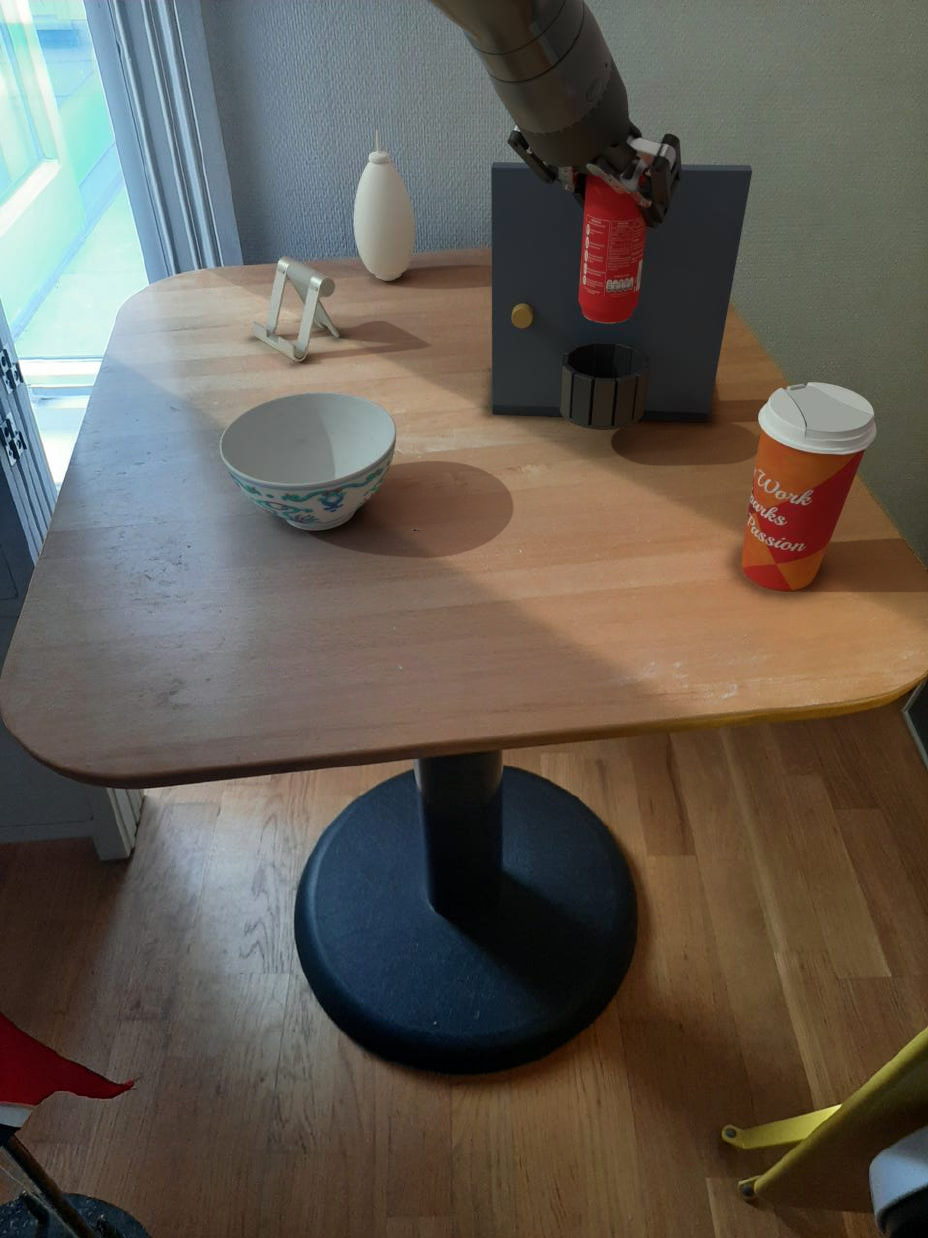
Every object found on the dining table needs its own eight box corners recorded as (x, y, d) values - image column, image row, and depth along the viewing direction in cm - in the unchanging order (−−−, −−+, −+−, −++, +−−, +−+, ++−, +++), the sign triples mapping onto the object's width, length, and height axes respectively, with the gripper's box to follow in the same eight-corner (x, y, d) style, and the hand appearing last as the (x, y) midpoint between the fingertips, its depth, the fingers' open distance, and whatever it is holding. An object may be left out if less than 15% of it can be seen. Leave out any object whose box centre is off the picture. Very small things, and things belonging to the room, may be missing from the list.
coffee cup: (709, 548, 78) (740, 388, 68) (794, 529, 80) (837, 370, 70) (761, 611, 72) (804, 446, 62) (852, 589, 74) (908, 424, 64)
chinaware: (314, 583, 76) (301, 507, 71) (202, 516, 83) (183, 442, 78) (436, 501, 84) (432, 427, 79) (324, 446, 92) (314, 375, 86)
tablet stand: (254, 339, 110) (241, 269, 104) (309, 319, 113) (299, 251, 108) (294, 364, 105) (282, 292, 99) (350, 342, 108) (342, 272, 103)
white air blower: (420, 287, 120) (412, 136, 107) (360, 292, 119) (345, 140, 107) (415, 264, 125) (406, 118, 113) (357, 268, 125) (343, 122, 113)
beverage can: (577, 324, 80) (587, 177, 71) (577, 299, 83) (586, 157, 75) (638, 326, 79) (654, 177, 71) (635, 300, 83) (651, 157, 75)
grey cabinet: (701, 377, 100) (740, 137, 84) (715, 472, 87) (765, 207, 71) (500, 370, 103) (500, 135, 86) (483, 461, 89) (480, 202, 73)
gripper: (676, 34, 58) (725, 183, 73) (491, 14, 65) (571, 154, 80) (627, 146, 59) (686, 271, 74) (448, 115, 65) (535, 236, 80)
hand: (626, 210), depth 77 cm, fingers closed on beverage can, 5 cm apart
